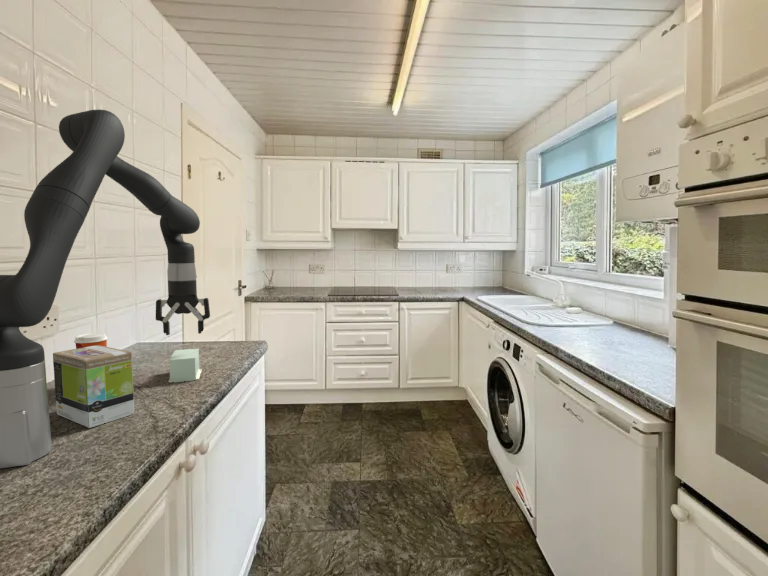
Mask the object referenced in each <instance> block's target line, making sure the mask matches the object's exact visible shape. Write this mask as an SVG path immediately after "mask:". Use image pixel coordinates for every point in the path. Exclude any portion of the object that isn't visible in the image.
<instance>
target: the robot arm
mask: <svg viewBox="0 0 768 576" xmlns="http://www.w3.org/2000/svg"><path fill="white" fill-rule="evenodd" d="M58 132H59V135H60V138H61V140H62V142H63V143H64V144H65V145H66V147H67V148H68V149H69V150H71V151H72V153H71V154H70V155H68V156H67V157H66V158H65V159H64V160H63V161H61V162H60V163H59V164H58V165H56V166H55V167H54V168H53V169H51V170H50V171H49V172H48V173H47V174H45V176H44V177H43V178H42V179H41V180H40V181H39V182H38V184H37V185H36V187H35V189H34V190H33V192H32V193H31V196H30V197H29V199H28V201H27V204H26V205H25V208H24V213H23V216H24V217H23V219H24V223H25V228H26V231H27V235H28V238H29V242H30V243H29V244H30V245H29V250H28V253H27V255H26V257H25V260H24V262H23V264H22V265H21V267H20V269H19V270H18V272H17V273H16V274H0V469H6V468H7V469H8V468H13V467H19V466H20V467H21V466H22V467H23V466H26V465H30V464H31V463H32V462H33V461H36V460H38V459H40V458H42V457H44V456H45V455H47V454H49V453H50V452H51V451H52V449H53V448H52V446H53V445H52V444H53V443H52V434H51V433H52V431H51V423H50V410H49V399H48V397H49V396H48V384H47V371H46V369H47V368H46V359H45V358H46V357H45V349H44V346H43V345H42V344H40V343H38V342H37V341H34V340H32V339H30V338H28V337H26V335H24V334H23V333H22V332H21V330H20V328H29V327H34V326H36V325H38V324H40V323H41V322H42V321H44V319H46V317H47V316H48V314H49V313H50V311H51V309H52V307H53V305H54V301H55V298H56V295H57V293H58V288H59V286H60V283H61V280H62V279H61V278H62V275H63V273H64V269H65V266H66V263H67V260H68V258H69V256H70V253H71V251H72V248H73V246H74V243H75V241H76V239H77V236H78V234H79V232H80V230H81V229H82V226H83V224H84V223H85V220H86V218H87V216H88V214H89V211H90V208H91V206H92V204H93V200H94V198H95V197H96V194H97V193H98V191H99V188H100V187H101V184H102V183H103V180H104V179H105V175H106V176H107V177H109V178H110V179H111V180H113V181H114V182H116V183H117V184H119V185H120V186H121V187H122V188H124V189H125V190H126V191H128V192H129V193H130V194H132V195H133V196H134V197H135V198H136V199H137V201H139V202H140V203H141V204H142V205H143V206H144V207H145V208H146V209H147V210H148V211H149V212H151V213H152V214H154V215H155V216H159V217H160V219H159V228H160V232H161V234H162V238H163V241H164V243H165V246H166V249H167V270H166V271H167V275H166V276H167V299H162V298H159V299H157V300H156V301H155V320H156V321H158V322H161V323H162V326H163V327H162V329H163V330H162V331H163V334H165V335H166V336H170V334H171V329H170V327H171V326H170V321H169V320H170V319H171V318H172V317H173V315H174V314H176V315H181V314H186V315H188V314H191V313H192V314H193V316H195V317H196V318H197V320H198V321H197V333H198V334H202V332H203V331H204V328H205V327H204V326H205V323H204V321H205V320H207V319H209V318H210V317H211V311H210V301H209V300H210V299H209V298H208V297H205V298H198V294H197V293H198V291H197V290H198V289H197V288H198V287H197V269H196V265H195V264H196V263H195V262H196V261H195V258H196V257H195V248H194V247H195V246H194V245H193V244H192V243H190V242H186V241H184V239H183V236H182V235H190V234H195V233H196V232H197V231H198V230H199V229H200V226H201V221H200V218H199V216H198V214H197V212H195V210H194V209H193V208H191V206H189V205H187V204H186V203H185V202H183V201H181V200H180V199H178V198H176V197H175V196H173V195H172V194H171V193H170V192H169V190H167V189H166V187H165V186H164V185H163V184H162V183H161V182H160V181H159V180H158V179H157V178H155V177H154V176H152V175H151V174H149V173H148V172H146V171H144V170H142V169H140V168H139V167H136V166H135V165H133V164H131V163H129V162H127V161H125V160H123V159H122V158H121V157H119V156H118V155H119V154H120V152H121V151H122V148H123V146H124V143H125V138H126V136H125V128H124V125H123V123H122V121H121V120H120V118H119V117H118V116H117V115H116V114H114V112H112V111H109V110H105V109H89V110H85V111H81V112H76V113H72V114H71V113H70V114H67V115H66V116H64V117H63V118H62V119H61V120H60V121H59V123H58ZM199 303H200V304H201V306H202V307H203V308H204V314H202V313H201V312H200V311H199V310H198V308H197V305H198V304H199ZM166 304H167V306H168V307H169V308H170V309H169V311H168V312H167V314H166V315H165V316H163V308H164V307H165V306H166Z"/></svg>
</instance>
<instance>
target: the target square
mask: <svg viewBox="0 0 768 576" xmlns="http://www.w3.org/2000/svg"><path fill="white" fill-rule="evenodd" d="M202 371H203V369H202V368H199V372H198V375H197V378H196V380H195V381H197V380H200V379H201V378H200V377H201V375H200V374H202ZM168 383H170V378H169V379H168Z"/></svg>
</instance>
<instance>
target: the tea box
mask: <svg viewBox="0 0 768 576" xmlns="http://www.w3.org/2000/svg"><path fill="white" fill-rule="evenodd" d="M132 356H133V355H132V352H131V351H129V350H123V349H118V348H113V347H109V346H107V347H105V346H100V345H96V346H90V347H84V348H78V349H76V348H74V349H69V350H61V351H56V352H53V353H52V359H53V360H52V362H53V375H54V376H53V377H54V393H55V408H56V414H57V416H61V417H63V418H65V419H67V420H70V421H72V422H73V423H77V424H79V425H80V426H84V427H86V428H88V429H90V428H94V427H97V426H101V425H103V424H104V423H105V424H106V423H110V422H113V421H117V420H120V419H122V418H125V417H128V416H130V415H134V413H135V397H134V396H135V394H134V376H133V373H134V372H133V357H132Z"/></svg>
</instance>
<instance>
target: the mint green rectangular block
mask: <svg viewBox="0 0 768 576" xmlns="http://www.w3.org/2000/svg"><path fill="white" fill-rule="evenodd" d="M199 351H200V349H199V348H188V349H176V350H175V349H174V352H173V353H172V355H171V357H170V358H169V359H168V360H169V361H168V363H169V379H170V382H169V383H171V384H172V382H174V383H181V382H182V383H183V382H184V381H185V382H194V380H195V381H197V380H196V378H197V375H198V372H199V369H200V352H199Z"/></svg>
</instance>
